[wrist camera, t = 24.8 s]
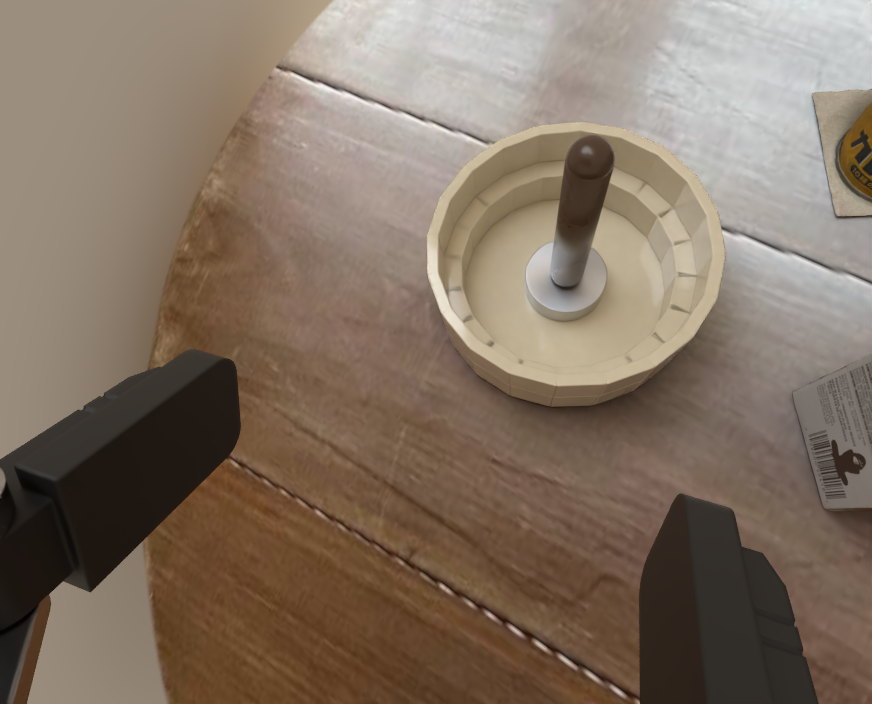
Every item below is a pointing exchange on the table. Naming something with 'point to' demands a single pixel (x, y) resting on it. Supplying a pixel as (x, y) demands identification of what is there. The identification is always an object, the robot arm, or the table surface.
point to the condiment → (847, 148)
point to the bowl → (614, 241)
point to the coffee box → (840, 435)
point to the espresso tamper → (574, 237)
